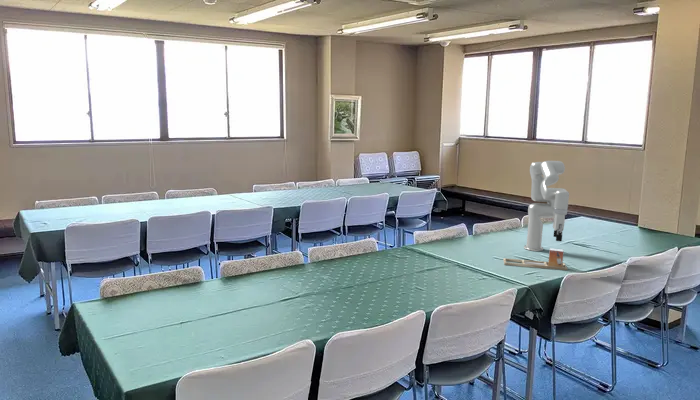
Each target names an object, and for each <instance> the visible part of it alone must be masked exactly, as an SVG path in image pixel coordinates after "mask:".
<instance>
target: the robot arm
mask: <svg viewBox="0 0 700 400" xmlns="http://www.w3.org/2000/svg"><path fill="white" fill-rule="evenodd" d="M565 171H566V168H565V164H564V162H563V161H561V160H545V161H536V162H531V164H530V166H529V174H530V175H529V176H530V178H531V189H530V198H531V201H534V202H535V203H531V204H529V205H528V207H527V208H528V209H527V215H528V225H527V236H526V245H525V244H524V246H523V249H525V250H528V251H530V252H531V251H533V252H541V251H543V250H544V247H542V241H543V227H544V224H543V222H542V220H541V218H544V219H551V218H553V222H552V229H553V237H554V238H555V241H556V242H562V241H563V231H564V228H565V217H566V215H568V208H569V199H570V193H569V191H567V189H566V188H562V187H559V188H558V187H550V186H552V185H555V184H556V183H558V181H559V180H560V175H562V174H564V173H565ZM536 202H537V203H536ZM538 202H540V203H538ZM541 202H546V203H541Z"/></svg>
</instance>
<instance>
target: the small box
mask: <svg viewBox="0 0 700 400" xmlns="http://www.w3.org/2000/svg"><path fill="white" fill-rule="evenodd" d="M564 251H565V250H564V249H562V248H561V249H559V248H553V247H550V248H549V252H548V261H547V262H548V266H557V267H562V263H564V262H563V261H564Z"/></svg>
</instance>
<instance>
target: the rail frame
mask: <svg viewBox="0 0 700 400" xmlns="http://www.w3.org/2000/svg"><path fill="white" fill-rule="evenodd" d="M502 259H503V265H504V266H512V267H522V268H523V267H526V268H538V269H548V270H549V269H550V270H558V269H559V270H560V271H561V270H562V271H568V267H567V265H566V263H565V262H562V267H557V266H548V261H541V260H540V261H539V260H528V259H517V258H507V257H505V258H502Z"/></svg>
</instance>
